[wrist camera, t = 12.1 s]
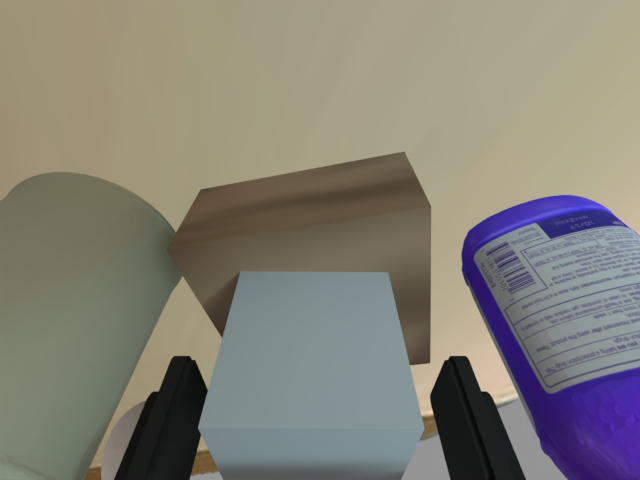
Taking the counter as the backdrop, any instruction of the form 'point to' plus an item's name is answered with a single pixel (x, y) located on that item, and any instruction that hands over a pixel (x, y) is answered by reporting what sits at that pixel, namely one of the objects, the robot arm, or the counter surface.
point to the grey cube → (312, 381)
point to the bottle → (566, 326)
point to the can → (73, 315)
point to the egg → (119, 442)
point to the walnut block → (315, 236)
